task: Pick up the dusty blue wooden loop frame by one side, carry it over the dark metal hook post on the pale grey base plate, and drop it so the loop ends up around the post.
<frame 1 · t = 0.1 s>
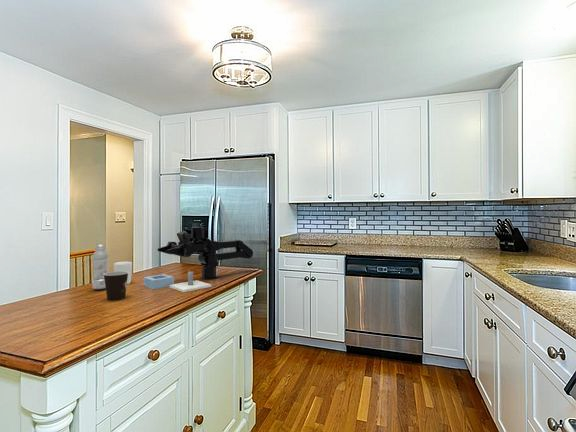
hand: (162, 250, 147), 17 cm above the countertop, tool horizontal, fingers open, 9 cm apart
loop frame: (158, 285, 148), on the countertop
plastic bottle: (100, 289, 141), on the countertop
hook post: (190, 286, 145), on the countertop
coffee mug: (119, 297, 128), on the countertop
white cup: (123, 283, 152), on the countertop
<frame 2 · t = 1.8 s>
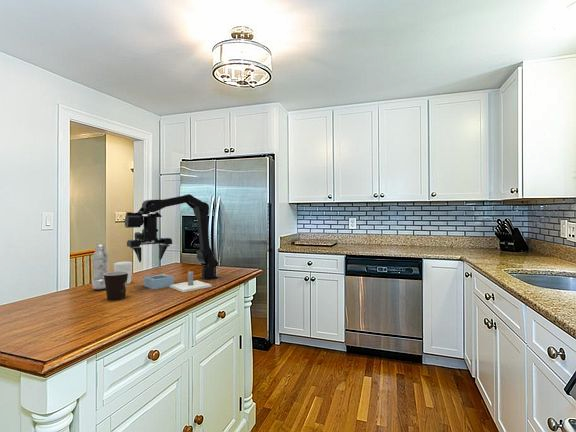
hand: (150, 261, 145), 12 cm above the countertop, tool pointing down, fingers open, 9 cm apart
nothing on the countertop moved.
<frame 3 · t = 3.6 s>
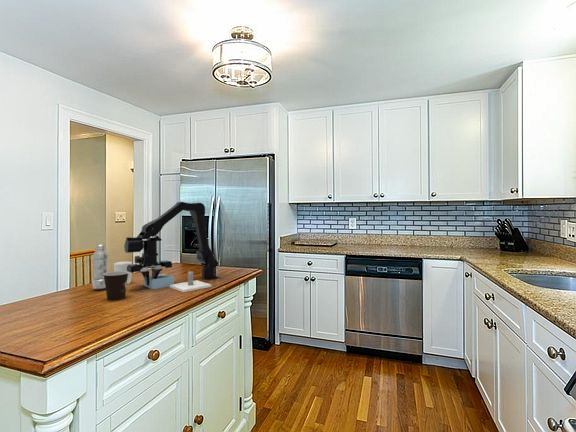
hand: (150, 284, 145), 1 cm above the countertop, tool pointing down, fingers closed on loop frame, 2 cm apart
loop frame: (158, 285, 148), on the countertop, touching gripper
everything else where it was.
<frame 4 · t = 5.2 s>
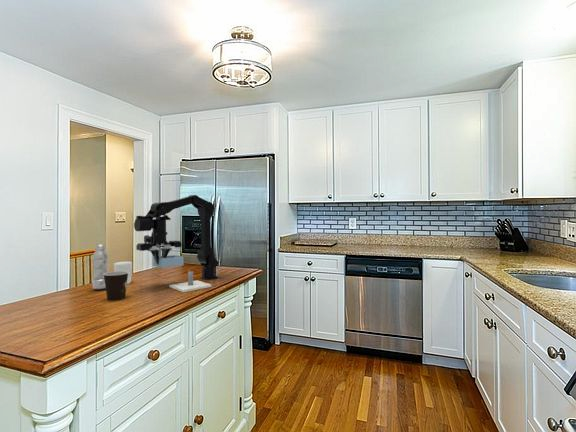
hand: (160, 264, 144), 11 cm above the countertop, tool pointing down, fingers closed on loop frame
loop frame: (168, 265, 147), point 10 cm above the countertop, touching gripper
everything else where it was.
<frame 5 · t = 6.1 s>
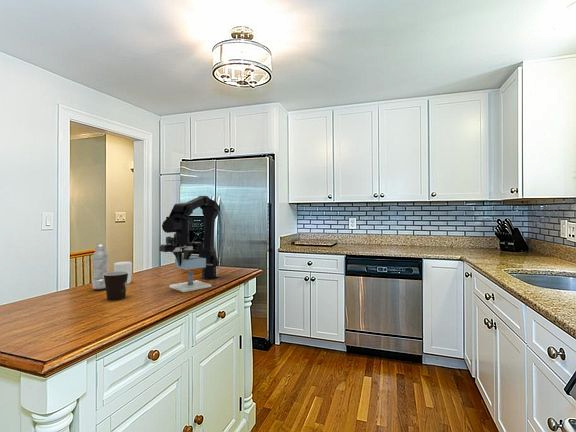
hand: (182, 265, 142), 10 cm above the countertop, tool pointing down, fingers closed on loop frame
loop frame: (190, 267, 145), point 9 cm above the countertop, touching gripper
everything else where it was.
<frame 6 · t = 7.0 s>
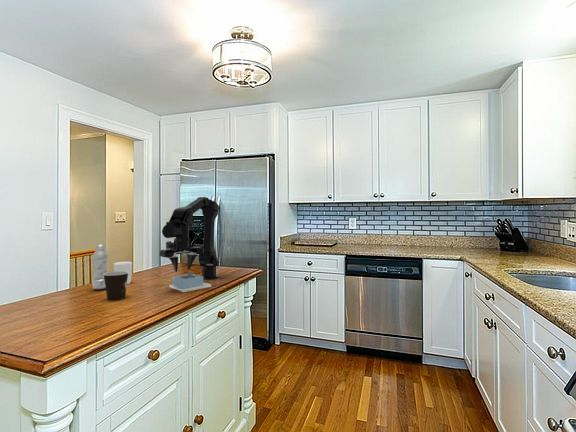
hand: (182, 270, 142), 8 cm above the countertop, tool pointing down, fingers open, 6 cm apart
loop frame: (187, 285, 144), point 1 cm above the countertop, touching hook post
everything else where it was.
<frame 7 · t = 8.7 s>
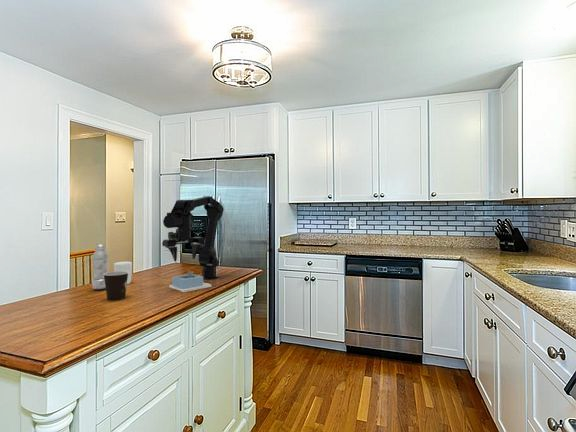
hand: (184, 260, 147), 12 cm above the countertop, tool pointing down, fingers open, 9 cm apart
nothing on the countertop moved.
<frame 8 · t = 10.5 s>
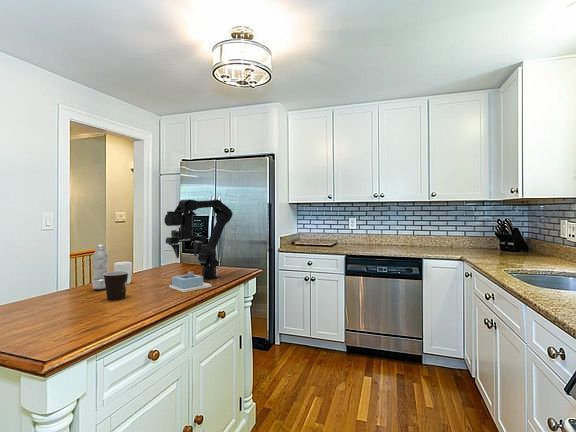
hand: (186, 257, 154), 13 cm above the countertop, tool pointing down, fingers open, 9 cm apart
nothing on the countertop moved.
at the end: loop frame 1.6 cm from the hook post (horizontally); loop frame point 1.0 cm above the countertop; the gripper is holding nothing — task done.
